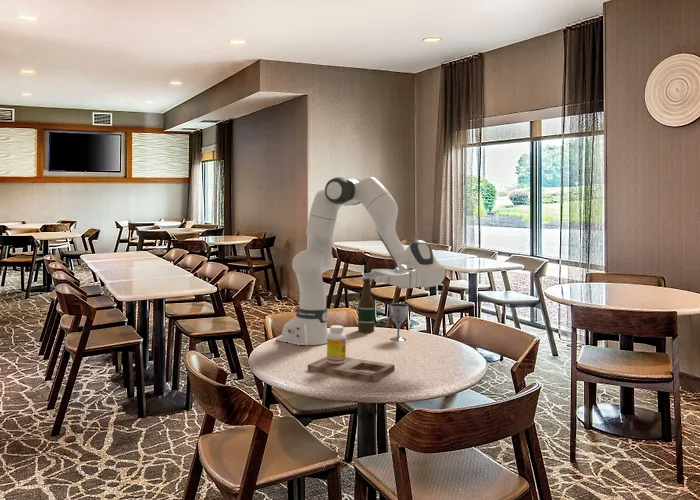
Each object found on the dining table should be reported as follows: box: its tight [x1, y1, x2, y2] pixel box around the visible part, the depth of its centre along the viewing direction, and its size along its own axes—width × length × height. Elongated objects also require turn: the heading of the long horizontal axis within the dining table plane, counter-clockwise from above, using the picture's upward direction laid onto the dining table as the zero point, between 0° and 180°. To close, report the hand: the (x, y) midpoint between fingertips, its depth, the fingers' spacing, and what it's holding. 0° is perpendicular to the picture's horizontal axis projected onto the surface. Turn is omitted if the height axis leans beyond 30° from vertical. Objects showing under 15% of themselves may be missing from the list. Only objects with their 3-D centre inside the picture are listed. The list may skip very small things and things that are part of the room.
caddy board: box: [307, 356, 396, 383], centre depth 213 cm, size 26×16×2 cm, turn 62°
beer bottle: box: [357, 277, 376, 334], centre depth 275 cm, size 8×8×24 cm
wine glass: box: [389, 302, 409, 342], centre depth 260 cm, size 8×8×15 cm
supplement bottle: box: [326, 324, 347, 364], centre depth 215 cm, size 7×7×13 cm
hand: (369, 277), depth 217 cm, fingers open, 8 cm apart
